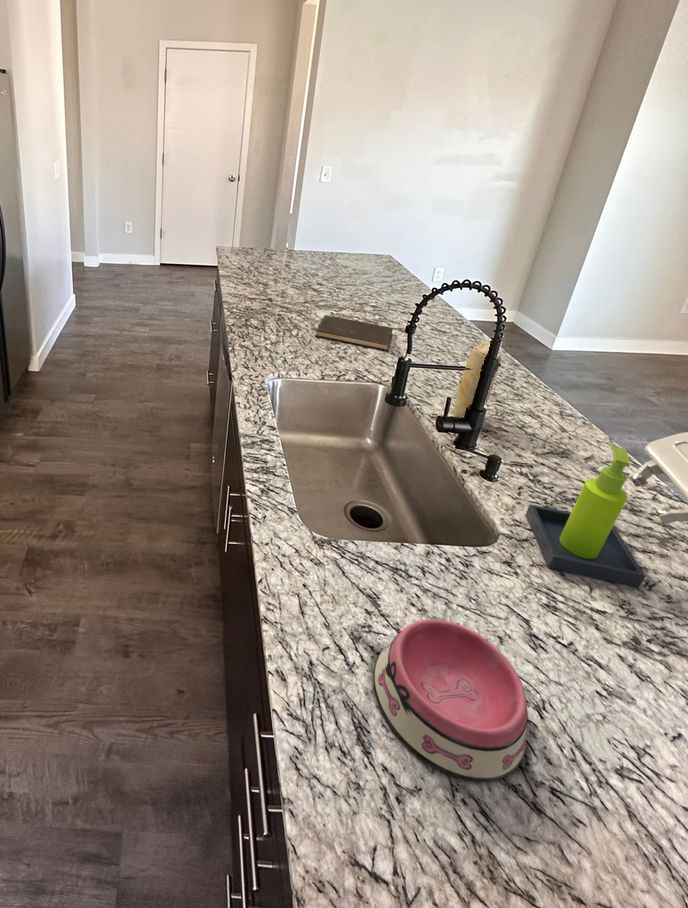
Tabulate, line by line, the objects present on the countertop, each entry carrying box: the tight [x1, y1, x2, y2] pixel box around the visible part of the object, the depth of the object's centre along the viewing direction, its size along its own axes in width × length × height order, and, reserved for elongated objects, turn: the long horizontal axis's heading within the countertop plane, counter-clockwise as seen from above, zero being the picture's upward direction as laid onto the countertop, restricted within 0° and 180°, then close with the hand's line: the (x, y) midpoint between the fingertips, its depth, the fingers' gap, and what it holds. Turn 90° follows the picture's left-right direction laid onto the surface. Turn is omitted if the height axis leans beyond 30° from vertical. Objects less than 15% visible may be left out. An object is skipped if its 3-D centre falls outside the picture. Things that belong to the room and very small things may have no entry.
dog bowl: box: [372, 618, 529, 782], centre depth 70 cm, size 18×19×7 cm
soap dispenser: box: [559, 445, 631, 559], centre depth 93 cm, size 6×7×20 cm
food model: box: [453, 342, 502, 418], centre depth 132 cm, size 10×7×20 cm
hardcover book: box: [314, 314, 394, 352], centre depth 181 cm, size 16×23×2 cm
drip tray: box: [525, 503, 646, 589], centre depth 97 cm, size 14×14×3 cm
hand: (645, 498), depth 90 cm, fingers open, 8 cm apart
